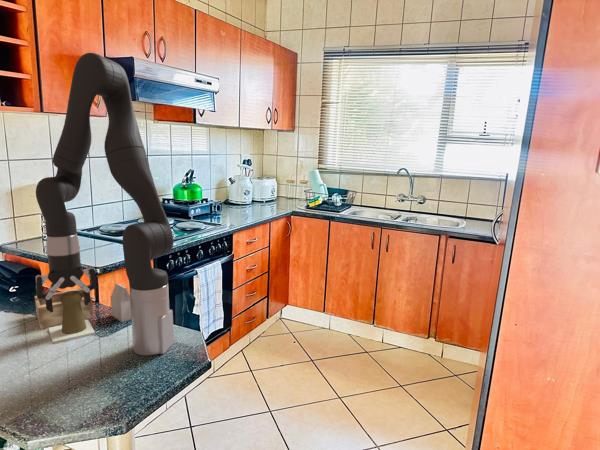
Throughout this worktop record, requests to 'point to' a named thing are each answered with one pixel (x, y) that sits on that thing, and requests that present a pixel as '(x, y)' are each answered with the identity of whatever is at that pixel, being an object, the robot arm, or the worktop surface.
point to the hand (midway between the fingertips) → (69, 307)
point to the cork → (72, 313)
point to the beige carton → (121, 303)
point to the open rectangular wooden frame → (58, 310)
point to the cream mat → (60, 337)
